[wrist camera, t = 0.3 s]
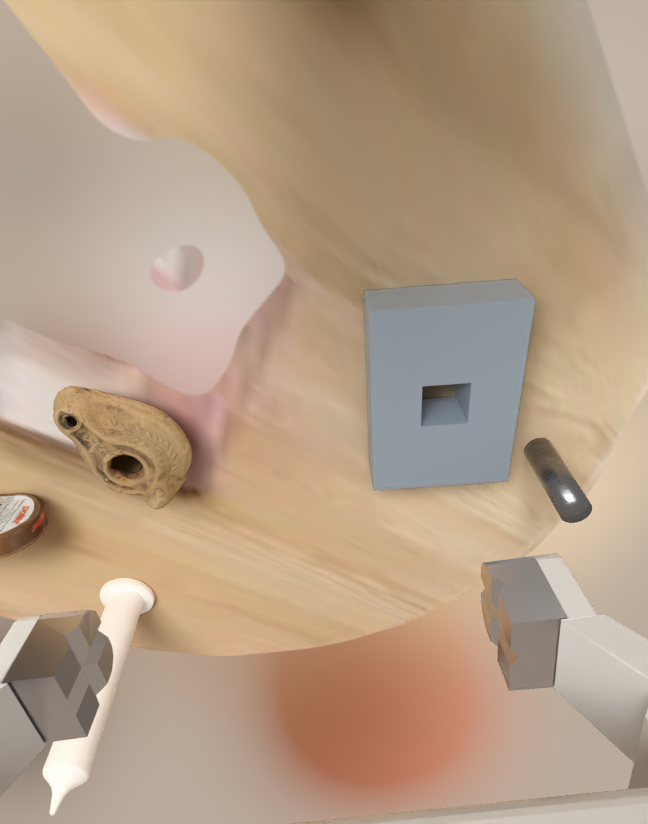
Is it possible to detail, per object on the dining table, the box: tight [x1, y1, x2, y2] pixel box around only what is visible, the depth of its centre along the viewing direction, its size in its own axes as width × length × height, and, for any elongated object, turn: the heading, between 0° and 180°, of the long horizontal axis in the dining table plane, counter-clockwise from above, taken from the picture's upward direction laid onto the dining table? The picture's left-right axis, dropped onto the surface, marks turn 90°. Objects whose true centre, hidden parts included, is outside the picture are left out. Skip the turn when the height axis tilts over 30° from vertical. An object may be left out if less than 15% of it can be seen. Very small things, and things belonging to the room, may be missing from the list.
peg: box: [524, 438, 592, 523], centre depth 55 cm, size 3×3×10 cm
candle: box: [43, 578, 155, 815], centre depth 60 cm, size 7×7×25 cm
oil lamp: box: [53, 386, 192, 509], centre depth 53 cm, size 11×15×8 cm
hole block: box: [364, 279, 536, 491], centre depth 51 cm, size 20×14×5 cm
